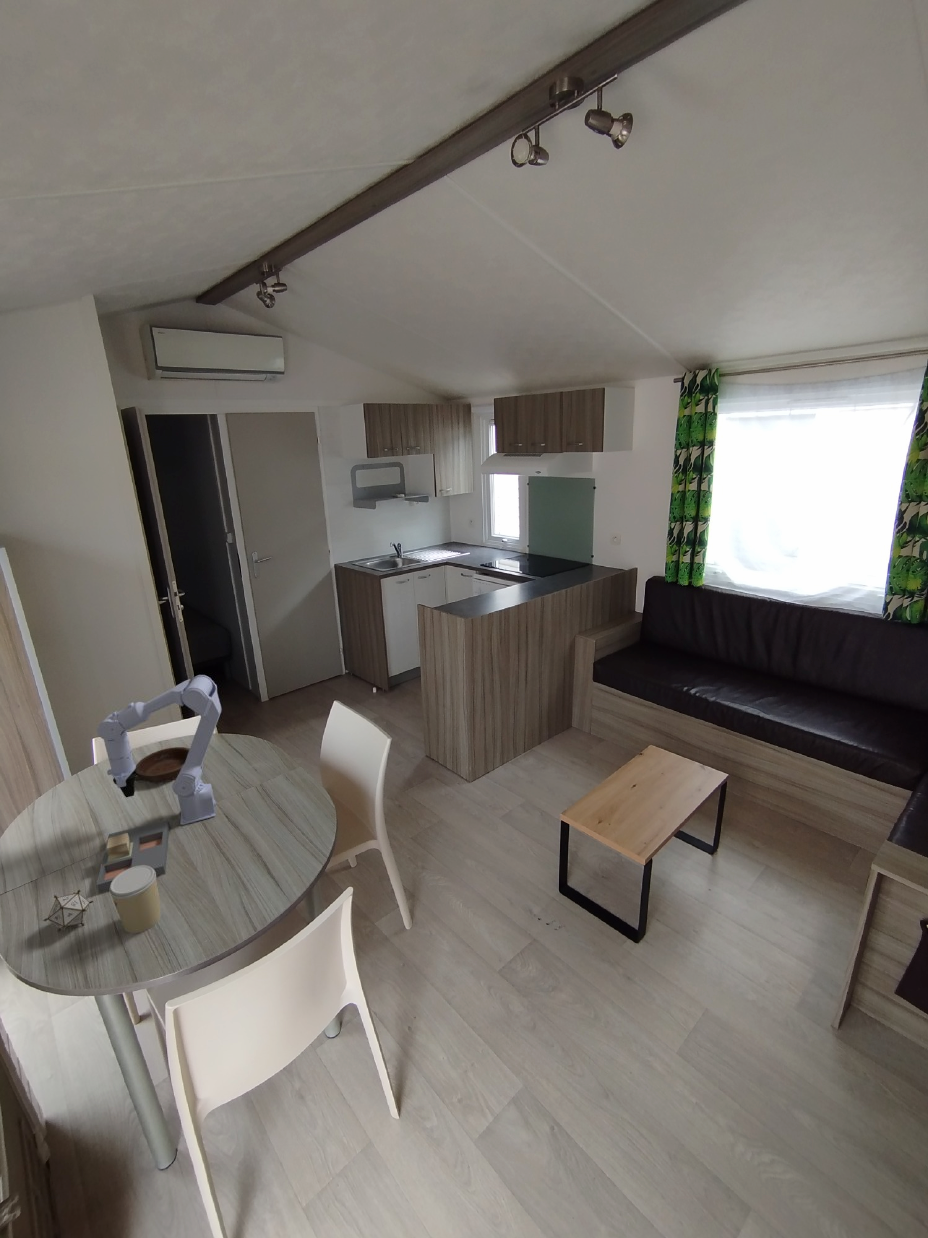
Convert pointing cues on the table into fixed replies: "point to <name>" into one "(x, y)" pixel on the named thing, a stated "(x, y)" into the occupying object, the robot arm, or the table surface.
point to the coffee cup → (136, 898)
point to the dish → (162, 765)
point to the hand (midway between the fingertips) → (130, 795)
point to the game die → (68, 910)
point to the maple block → (118, 846)
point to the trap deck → (137, 852)
